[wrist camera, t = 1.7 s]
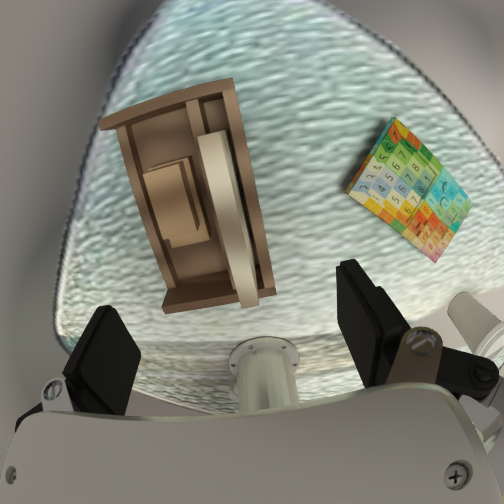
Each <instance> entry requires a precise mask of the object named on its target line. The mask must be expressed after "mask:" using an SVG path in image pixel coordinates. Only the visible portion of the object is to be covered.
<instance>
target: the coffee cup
mask: <svg viewBox="0 0 504 504" xmlns="http://www.w3.org/2000/svg"><path fill="white" fill-rule="evenodd" d="M447 313H448V316H449V317H450V318H451V320H452V321H453V323H454V325H455V326H456V327H457V329H458V331H459V332H460V334H461V335H462V337H463V338H464V340H465V342H466V343H467V345H468V347H469V348H470V350H471V352H472V353H473V354H474V355H478V356H482V357H485V358H488V359H490V360H491V361H493V360H494V359H495V358H496V357H497V356H498V355H499V354H500V353H501V352H502V350H503V349H504V322H501V321H500V320H499V319H498V318H497V317H496V316H495V315H493V314H492V313H491V312H490V311H489V310H488V309H486V308H485V307H484V306H483V305H482V304H480V303H479V302H478V301H477V300H476V299H474V298H473V297H472V296H471V295H470V294H468V293H467V292H461V293H459V294H458V295H457V296H456V297H455V298H454V299H453V300H452V301H451V303H450V305H449V307H448V311H447Z"/></svg>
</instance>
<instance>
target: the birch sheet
mask: <svg viewBox="0 0 504 504" xmlns="http://www.w3.org/2000/svg"><path fill="white" fill-rule="evenodd" d="M197 138H198V142H199V146H200V151H201V155H202V159H203V163H204V167H205V171H206V175H207V179H208V183H209V187H210V191H211V195H212V199H213V203H214V207H215V211H216V215H217V219H218V223H219V227H220V230H221V234H222V238H223V242H224V246H225V249H226V253H227V257H228V261H229V264H230V268H231V272H232V275H233V279H234V283H235V286H236V290H237V293H238V297H239V301H240V304H241V308H242V309H243V308H249V307H254V306H259V298H258V290H257V281H256V273H255V265H254V256H253V248H252V240H251V235H250V230H249V226H248V221H247V217H246V212H245V208H244V203H243V198H242V194H241V189H240V185H239V180H238V176H237V171H236V167H235V162H234V158H233V153H232V148H231V144H230V139H229V135H228V130H222V131H218V132H214V133H210V134H206V135H203V136H199V137H197Z"/></svg>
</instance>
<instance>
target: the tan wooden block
mask: <svg viewBox="0 0 504 504" xmlns="http://www.w3.org/2000/svg"><path fill="white" fill-rule="evenodd" d="M143 177H144V181H145V184H146V187H147V191H148V194H149V197H150V201H151V204H152V207H153V210H154V213H155V217H156V220H157V223H158V226H159V229H160V232H161V235H162V238H163V240H165V239H169V240H170V243H171V246H172V248H175V247H180V246H184V245H189V244H193V243H198V242H203V241H207V240H210V237H211V228H210V224H209V221H208V217H207V213H206V210H205V206H204V202H203V198H202V194H201V191H200V187H199V183H198V179H197V175H196V171H195V167H194V163H193V159H192V155H190V156H186V157H182V158H179V159H175V160H172V161H168V162H165V163H161V164H158V165H155V166H152V167H151V168H149V169H148V172H146V173H144V174H143Z"/></svg>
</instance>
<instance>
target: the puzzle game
mask: <svg viewBox="0 0 504 504" xmlns="http://www.w3.org/2000/svg"><path fill="white" fill-rule="evenodd" d="M345 193H346V194H348V195H349V196H351V197H352V198H353V199H355V200H356V201H358V202H359V203H360V204H362V205H363V206H364V207H366V208H367V209H369V210H370V211H371V212H373V213H374V214H375V215H377V216H378V217H379V218H381V219H382V220H383V221H384V222H386V223H387V224H388V225H390V226H391V227H392V228H393V229H395V230H396V231H397V232H398V233H400V234H401V235H402V236H403V237H405V238H406V239H407V240H408V241H409V242H411V243H412V244H413V245H414V246H415V247H417V248H418V249H419V250H420V251H421V252H423V253H424V254H425V255H426V256H427V257H428V258H429V259H431V260H432V261H433V262H434V263H436V262H437V260H438V259H439V257H440V256H441V254H442V253H443V252H444V250H445V249H446V247H447V246H448V244H449V243H450V241H451V240H452V238H453V236H454V235H455V233H456V232H457V230H458V229H459V227H460V225H461V224H462V222H463V220H464V219H465V217H466V215H467V214H468V212H469V210H470V208H471V207H472V205H473V203H472V202H471V200H470V199H469V198H468V196H467V195H466V194H465V192H464V191H463V190H462V189H461V187H460V186H459V185H458V183H457V182H456V181H455V180H454V178H453V177H452V176H451V175H450V174H449V172H448V171H447V170H446V169H445V168H444V167H443V165H442V164H441V163H440V162H439V161H438V160H437V159H436V158H435V156H434V155H433V154H432V153H431V152H430V151H429V150H428V149H427V148H426V147H425V146H424V145H423V144H422V143H421V142H420V141H419V139H418V138H417V137H416V136H415V135H414V134H413V133H411V132H410V131H409V130H408V129H407V128H406V127H405V126H404V125H403V124H402V123H401V122H400V121H399V120H398V119H397V118H396V117H391V119H390V120H389V122H388V124H387V125H386V127H385V129H384V130H383V132H382V134H381V135H380V137H379V139H378V140H377V142H376V144H375V145H374V147H373V148H372V150H371V152H370V153H369V155H368V156H367V158H366V160H365V161H364V163H363V164H362V166H361V167H360V169H359V171H358V172H357V174H356V175H355V177H354V178H353V180H352V181H351V183H350V185H349V186H348V188H347V189H346V191H345Z"/></svg>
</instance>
